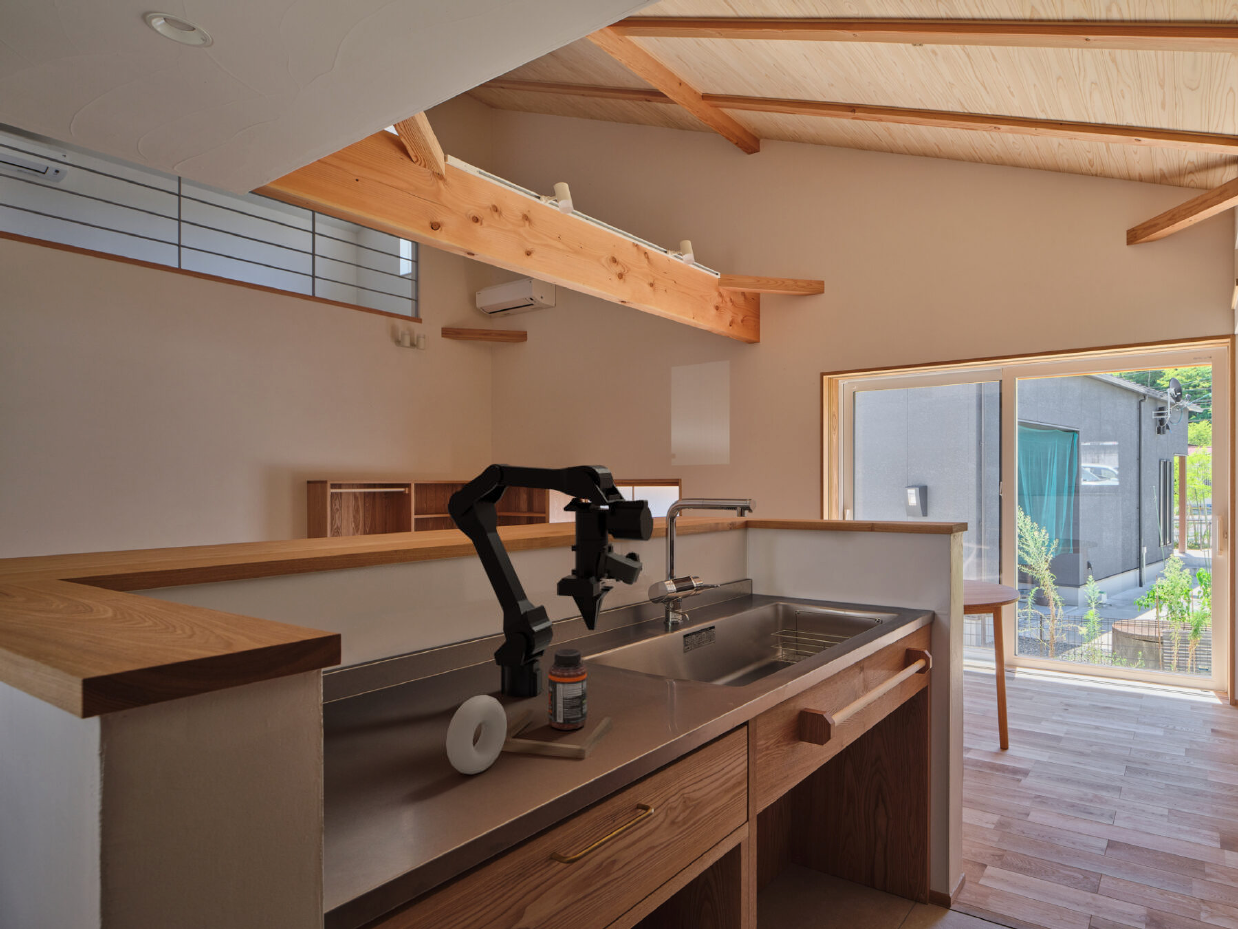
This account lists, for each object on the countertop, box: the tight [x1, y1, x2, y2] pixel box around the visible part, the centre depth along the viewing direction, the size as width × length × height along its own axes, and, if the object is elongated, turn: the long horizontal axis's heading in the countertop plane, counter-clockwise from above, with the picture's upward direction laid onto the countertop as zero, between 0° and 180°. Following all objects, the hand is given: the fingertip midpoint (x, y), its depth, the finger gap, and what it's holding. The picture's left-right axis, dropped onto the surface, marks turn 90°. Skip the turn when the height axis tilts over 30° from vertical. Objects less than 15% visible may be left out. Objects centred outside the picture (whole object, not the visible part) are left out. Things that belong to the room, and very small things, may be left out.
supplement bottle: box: [547, 648, 588, 731], centre depth 115 cm, size 6×6×11 cm
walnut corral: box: [500, 708, 613, 759], centre depth 109 cm, size 14×13×2 cm
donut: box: [445, 694, 508, 776], centre depth 97 cm, size 10×4×10 cm, turn 148°
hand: (591, 629), depth 126 cm, fingers closed
